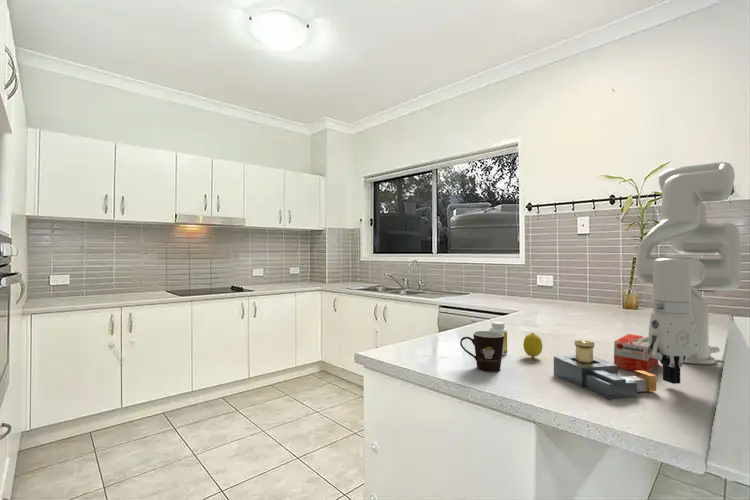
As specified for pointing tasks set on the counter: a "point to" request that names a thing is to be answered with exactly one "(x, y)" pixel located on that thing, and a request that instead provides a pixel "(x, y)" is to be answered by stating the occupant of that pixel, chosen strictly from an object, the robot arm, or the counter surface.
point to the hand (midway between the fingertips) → (671, 381)
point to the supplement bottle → (501, 329)
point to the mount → (595, 377)
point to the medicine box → (633, 353)
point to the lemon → (532, 345)
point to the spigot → (584, 351)
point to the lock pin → (643, 381)
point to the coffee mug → (487, 350)
